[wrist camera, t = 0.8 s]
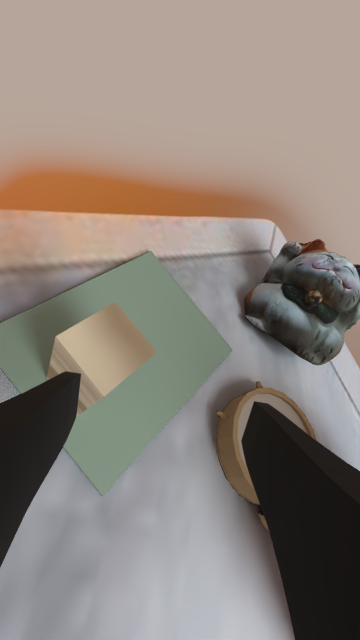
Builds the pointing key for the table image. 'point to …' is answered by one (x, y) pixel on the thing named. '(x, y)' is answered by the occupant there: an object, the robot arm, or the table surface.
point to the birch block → (100, 353)
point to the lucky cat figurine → (307, 300)
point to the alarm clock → (233, 431)
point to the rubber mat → (137, 389)
